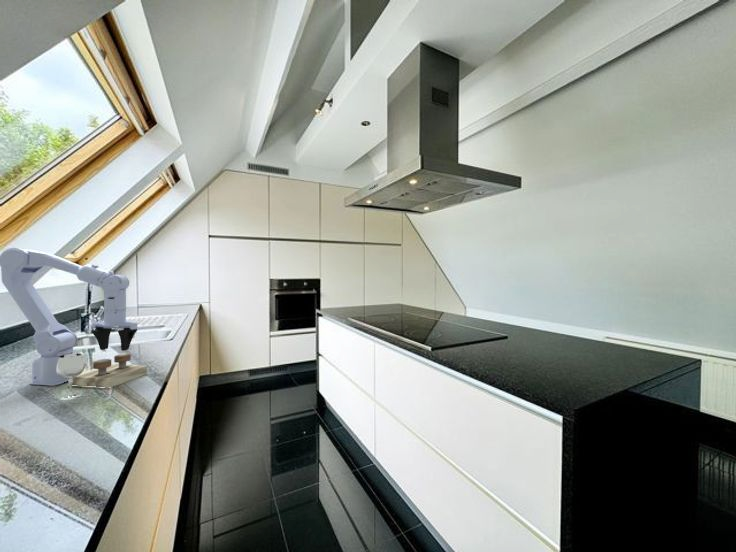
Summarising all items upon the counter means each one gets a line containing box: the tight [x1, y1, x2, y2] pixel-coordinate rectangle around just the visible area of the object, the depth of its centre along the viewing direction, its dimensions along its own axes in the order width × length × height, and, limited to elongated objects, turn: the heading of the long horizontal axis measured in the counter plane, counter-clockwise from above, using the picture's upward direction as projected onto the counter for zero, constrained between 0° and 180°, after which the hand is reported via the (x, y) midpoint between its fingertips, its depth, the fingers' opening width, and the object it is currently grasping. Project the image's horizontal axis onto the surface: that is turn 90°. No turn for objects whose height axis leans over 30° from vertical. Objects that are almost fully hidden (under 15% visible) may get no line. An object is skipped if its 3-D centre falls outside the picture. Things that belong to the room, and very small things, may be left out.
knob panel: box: [72, 363, 148, 389], centre depth 101 cm, size 14×14×3 cm
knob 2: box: [113, 353, 132, 369], centre depth 104 cm, size 4×4×5 cm
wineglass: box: [56, 352, 86, 398], centre depth 87 cm, size 6×6×12 cm
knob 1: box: [92, 358, 112, 376], centre depth 97 cm, size 4×4×5 cm
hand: (114, 349), depth 103 cm, fingers open, 7 cm apart
